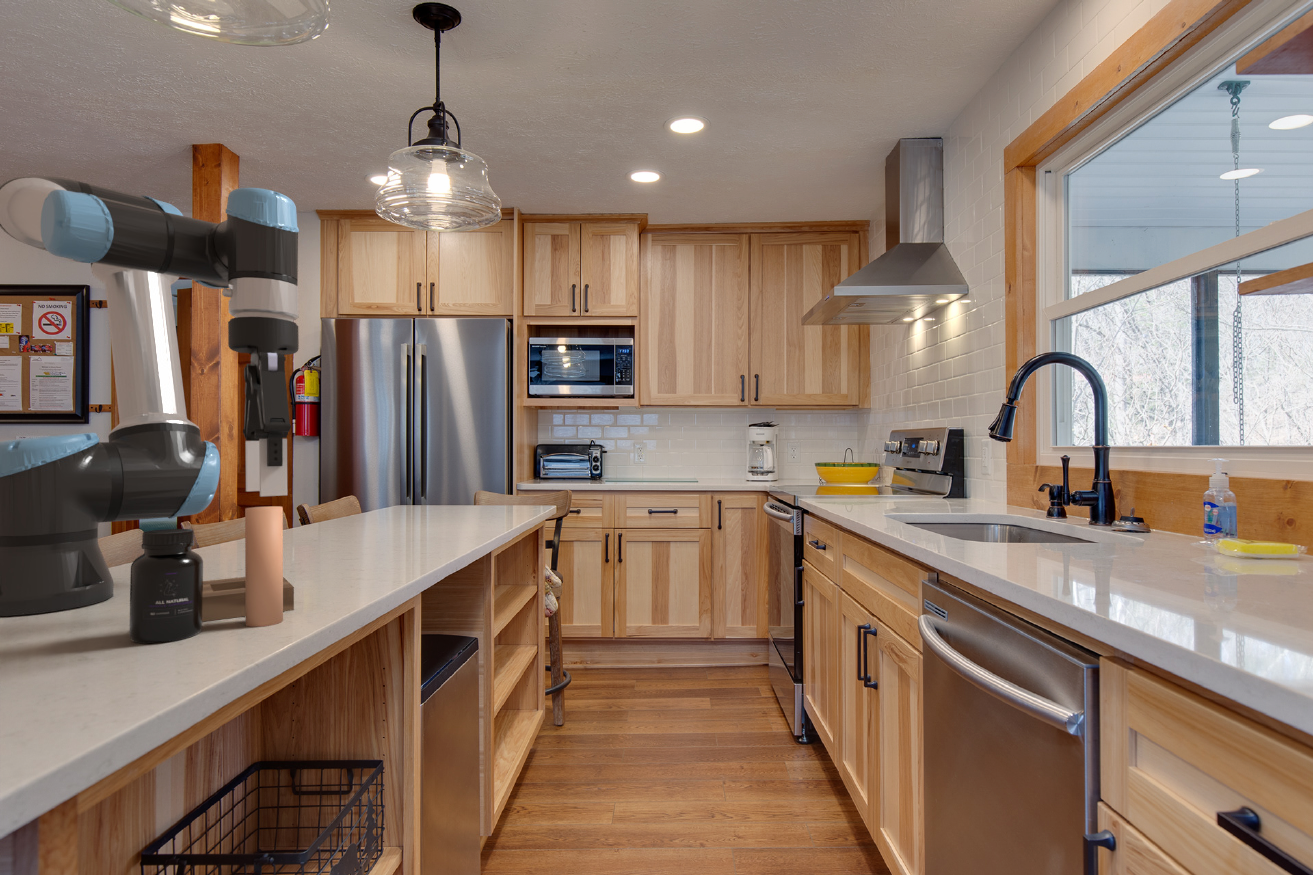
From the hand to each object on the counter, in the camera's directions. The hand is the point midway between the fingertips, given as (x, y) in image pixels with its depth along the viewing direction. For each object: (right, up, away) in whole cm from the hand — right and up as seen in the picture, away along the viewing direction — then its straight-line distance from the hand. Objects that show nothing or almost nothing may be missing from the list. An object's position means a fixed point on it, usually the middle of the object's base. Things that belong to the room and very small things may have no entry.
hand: (265, 493), depth 85 cm
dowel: (0, -16, 0) cm, 16 cm away
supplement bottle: (-8, -16, -6) cm, 19 cm away
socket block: (-8, -16, +8) cm, 19 cm away
